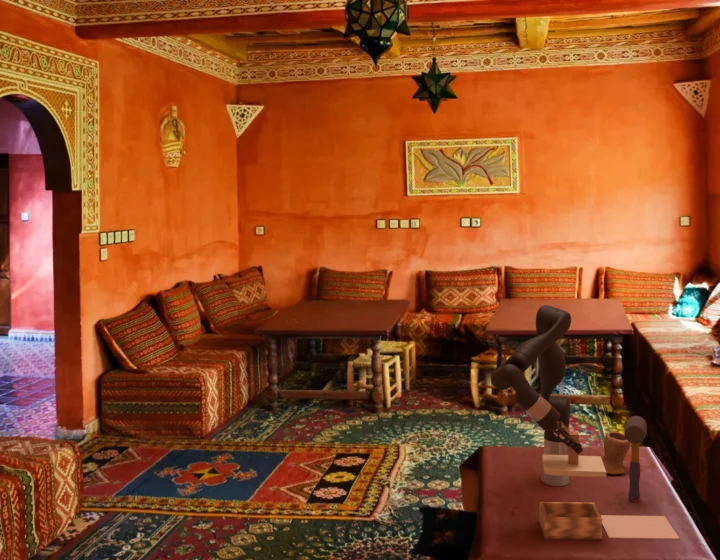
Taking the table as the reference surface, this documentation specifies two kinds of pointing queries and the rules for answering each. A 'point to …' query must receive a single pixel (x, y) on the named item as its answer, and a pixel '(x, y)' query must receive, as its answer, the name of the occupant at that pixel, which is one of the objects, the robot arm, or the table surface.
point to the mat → (638, 527)
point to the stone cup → (615, 452)
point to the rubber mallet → (635, 452)
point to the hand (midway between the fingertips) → (580, 449)
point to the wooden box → (570, 520)
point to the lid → (573, 463)
